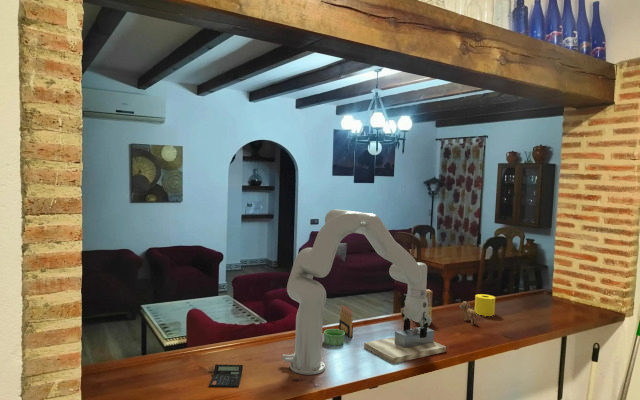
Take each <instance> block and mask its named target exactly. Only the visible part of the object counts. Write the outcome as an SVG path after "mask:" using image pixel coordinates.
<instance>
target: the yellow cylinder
mask: <svg viewBox="0 0 640 400" xmlns="http://www.w3.org/2000/svg"><path fill="white" fill-rule="evenodd" d="M474 296H475V297H474V298H475V299H474V311H475V312H476V313H477V314H479V315H478V316H480V315H484V316H483V317H486V316H492V315H494V316H495V312H496V311H495V307H496V296H494V295H491V294H483V293H482V294H481V293H480V294H479V293H478V294H475V295H474ZM477 314H476V315H477ZM492 317H493V316H492Z"/></svg>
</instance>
